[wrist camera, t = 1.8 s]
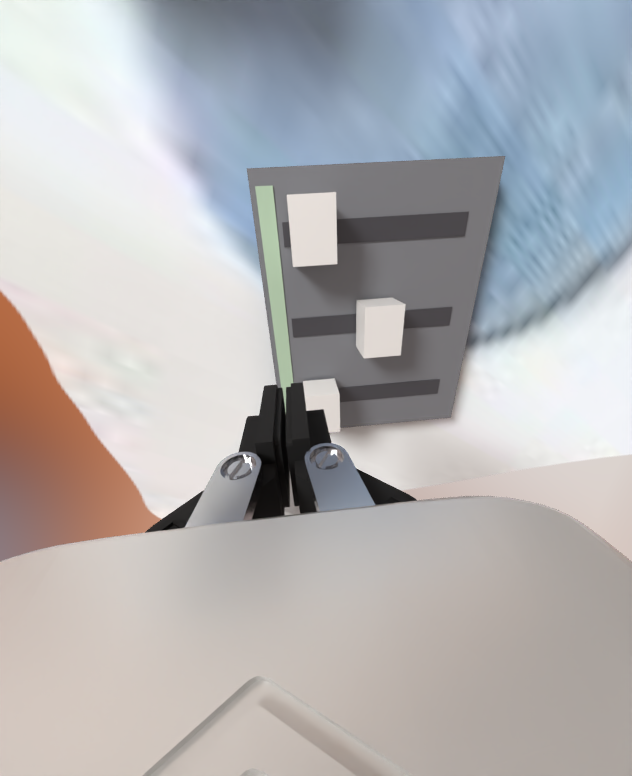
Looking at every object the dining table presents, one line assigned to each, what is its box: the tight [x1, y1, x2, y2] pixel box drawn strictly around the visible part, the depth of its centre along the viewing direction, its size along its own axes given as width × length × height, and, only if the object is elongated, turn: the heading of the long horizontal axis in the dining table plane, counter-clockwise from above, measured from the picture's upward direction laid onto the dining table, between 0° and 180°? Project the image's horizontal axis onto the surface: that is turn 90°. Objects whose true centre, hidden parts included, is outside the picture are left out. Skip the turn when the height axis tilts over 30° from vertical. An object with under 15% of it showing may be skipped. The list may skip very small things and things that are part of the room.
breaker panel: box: [247, 156, 505, 433], centre depth 23 cm, size 18×22×5 cm
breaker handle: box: [356, 298, 406, 358], centre depth 22 cm, size 3×4×3 cm
